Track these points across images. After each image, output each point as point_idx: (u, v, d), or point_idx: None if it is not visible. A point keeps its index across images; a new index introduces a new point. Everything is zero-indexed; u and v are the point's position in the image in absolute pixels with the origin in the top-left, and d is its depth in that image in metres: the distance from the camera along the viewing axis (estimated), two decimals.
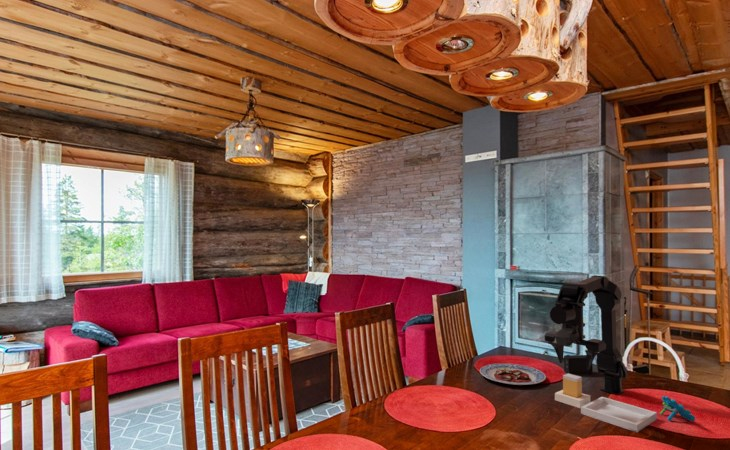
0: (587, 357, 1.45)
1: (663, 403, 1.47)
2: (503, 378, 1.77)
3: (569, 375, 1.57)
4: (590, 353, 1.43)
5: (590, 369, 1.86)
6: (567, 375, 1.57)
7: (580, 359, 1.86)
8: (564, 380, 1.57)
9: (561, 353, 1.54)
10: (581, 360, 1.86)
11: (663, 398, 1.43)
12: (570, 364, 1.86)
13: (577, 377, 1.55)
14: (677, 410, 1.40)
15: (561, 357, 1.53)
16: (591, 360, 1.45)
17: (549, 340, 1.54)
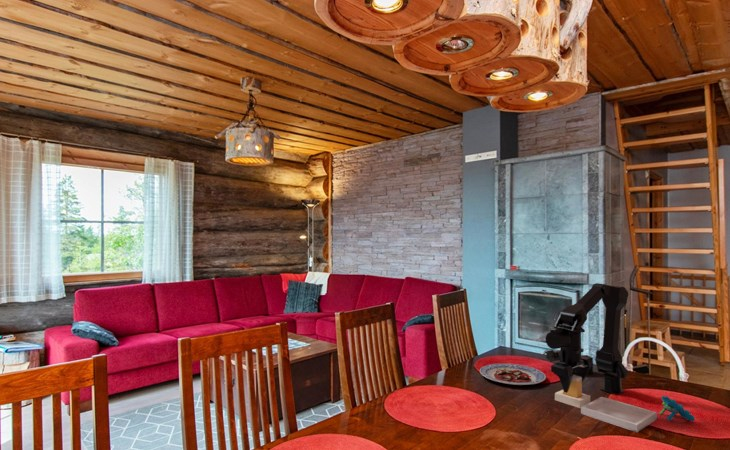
0: None
1: (663, 403, 1.47)
2: (503, 378, 1.77)
3: None
4: None
5: (590, 369, 1.86)
6: None
7: None
8: None
9: None
10: None
11: (663, 398, 1.43)
12: None
13: (577, 377, 1.55)
14: (677, 410, 1.40)
15: None
16: (564, 383, 1.53)
17: None
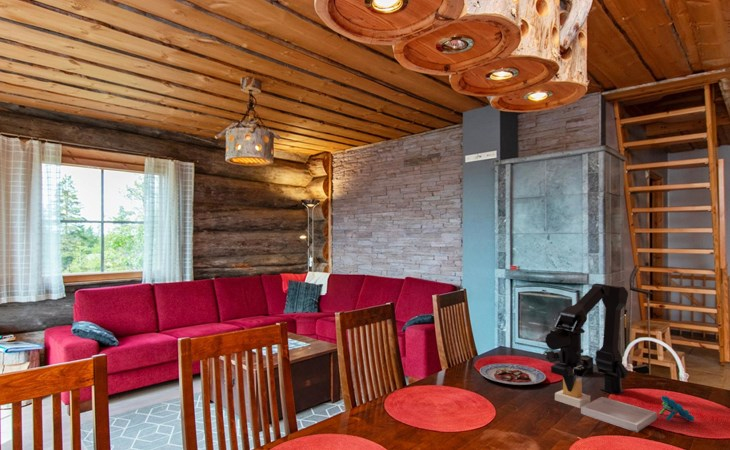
0: None
1: (663, 403, 1.47)
2: (503, 378, 1.77)
3: None
4: None
5: (591, 369, 1.86)
6: None
7: None
8: None
9: None
10: None
11: (662, 398, 1.44)
12: None
13: (577, 377, 1.55)
14: (676, 410, 1.40)
15: None
16: (568, 382, 1.55)
17: None
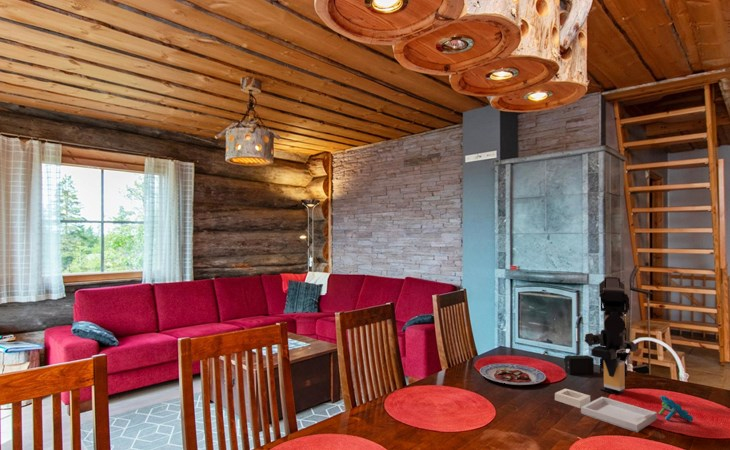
0: None
1: (662, 403, 1.47)
2: (503, 378, 1.77)
3: None
4: None
5: (591, 369, 1.86)
6: None
7: (581, 359, 1.85)
8: (605, 364, 1.46)
9: None
10: (582, 360, 1.86)
11: (661, 398, 1.44)
12: (571, 364, 1.85)
13: (619, 361, 1.43)
14: (675, 410, 1.41)
15: None
16: (610, 367, 1.43)
17: None
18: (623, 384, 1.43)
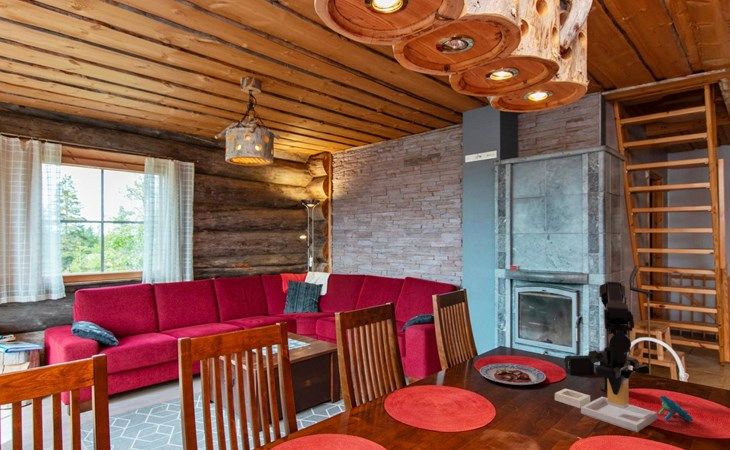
0: None
1: (662, 403, 1.47)
2: (503, 378, 1.77)
3: None
4: None
5: (591, 369, 1.86)
6: None
7: (582, 359, 1.85)
8: (609, 382, 1.45)
9: None
10: (583, 360, 1.85)
11: (661, 398, 1.44)
12: (572, 365, 1.85)
13: (623, 379, 1.42)
14: (675, 410, 1.41)
15: None
16: (614, 385, 1.42)
17: None
18: (627, 402, 1.43)
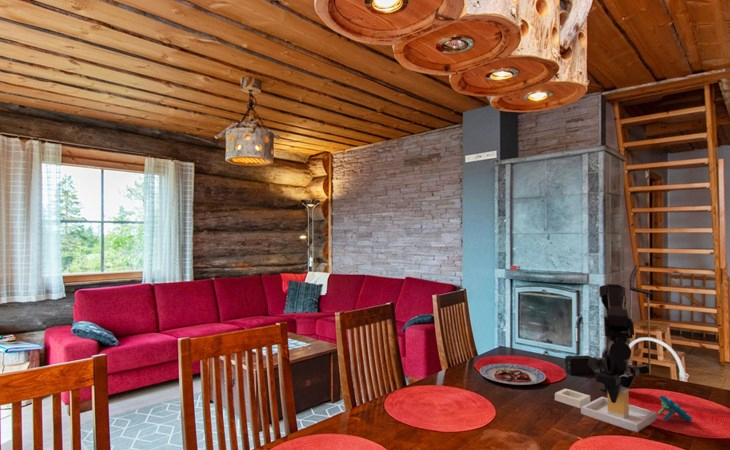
0: None
1: (662, 403, 1.47)
2: (503, 378, 1.77)
3: None
4: None
5: None
6: None
7: (582, 360, 1.85)
8: None
9: None
10: (583, 360, 1.85)
11: (661, 398, 1.44)
12: (572, 365, 1.85)
13: (624, 389, 1.42)
14: (674, 410, 1.41)
15: None
16: (612, 393, 1.41)
17: None
18: (627, 412, 1.43)
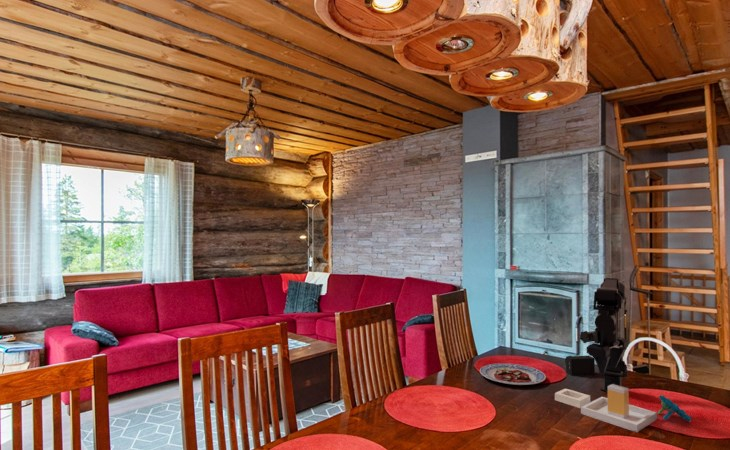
0: None
1: (662, 403, 1.47)
2: (503, 378, 1.77)
3: (614, 386, 1.45)
4: None
5: (592, 370, 1.85)
6: (612, 386, 1.45)
7: (582, 360, 1.85)
8: (609, 391, 1.45)
9: (614, 358, 1.54)
10: (583, 360, 1.85)
11: (660, 397, 1.44)
12: (573, 365, 1.84)
13: (624, 389, 1.42)
14: (673, 410, 1.41)
15: (613, 362, 1.54)
16: (601, 365, 1.48)
17: None
18: (627, 412, 1.43)
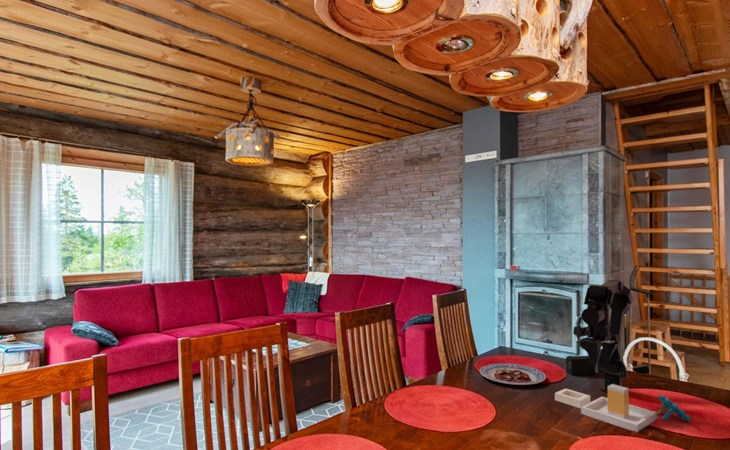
0: None
1: (661, 403, 1.47)
2: (503, 378, 1.77)
3: (614, 386, 1.45)
4: None
5: (593, 370, 1.85)
6: (612, 386, 1.45)
7: (583, 360, 1.85)
8: (609, 391, 1.45)
9: (607, 353, 1.59)
10: (584, 361, 1.85)
11: (659, 397, 1.44)
12: (573, 365, 1.84)
13: (624, 389, 1.42)
14: (672, 410, 1.41)
15: (605, 356, 1.60)
16: (593, 358, 1.53)
17: None
18: (627, 412, 1.43)
